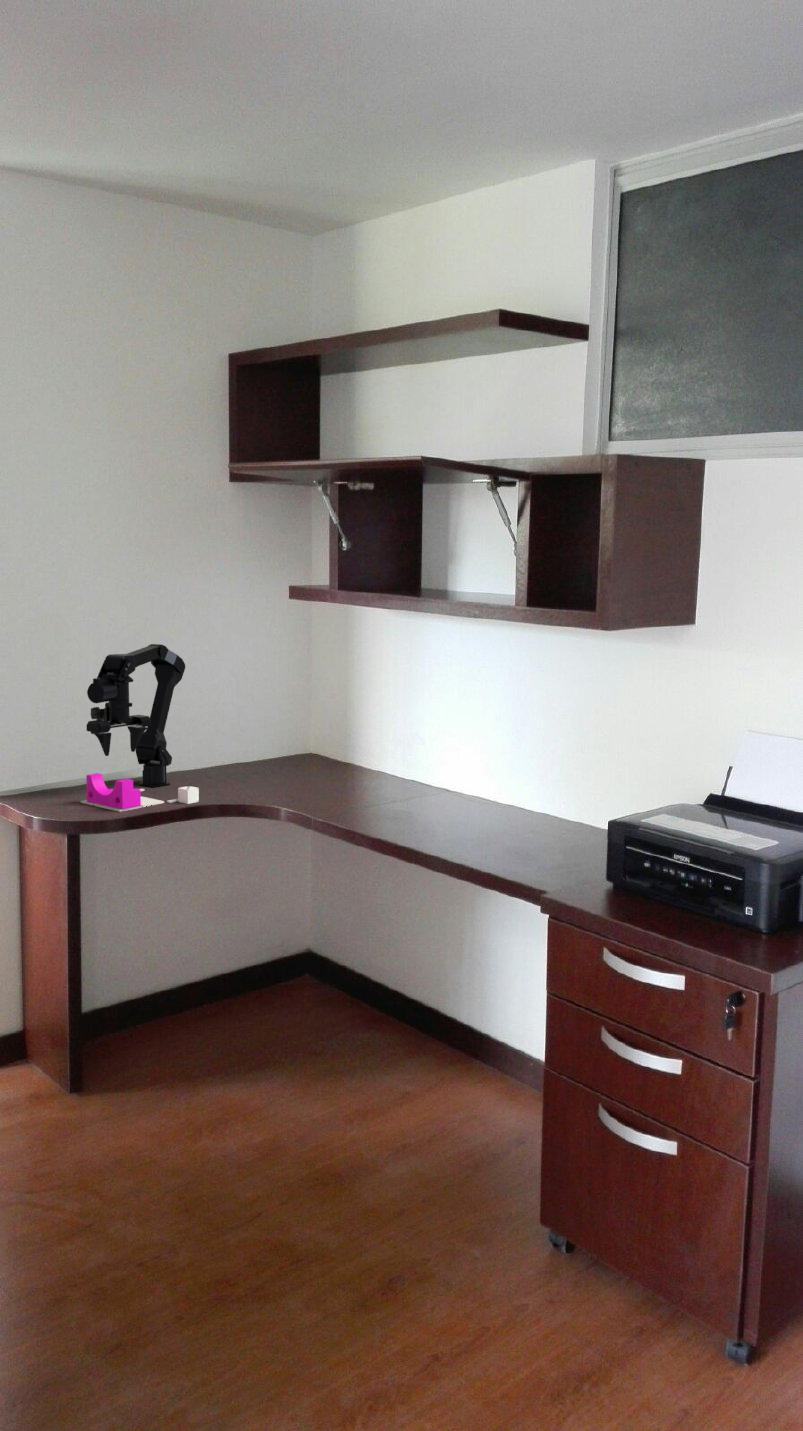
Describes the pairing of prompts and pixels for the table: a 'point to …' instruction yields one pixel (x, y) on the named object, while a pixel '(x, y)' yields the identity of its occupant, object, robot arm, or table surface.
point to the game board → (144, 803)
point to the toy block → (112, 793)
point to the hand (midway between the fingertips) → (119, 753)
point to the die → (188, 794)
